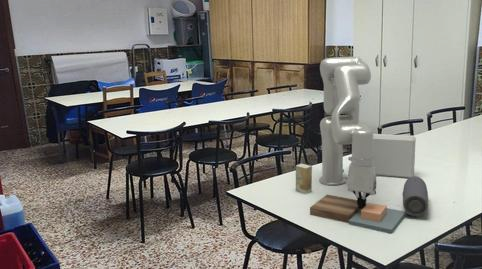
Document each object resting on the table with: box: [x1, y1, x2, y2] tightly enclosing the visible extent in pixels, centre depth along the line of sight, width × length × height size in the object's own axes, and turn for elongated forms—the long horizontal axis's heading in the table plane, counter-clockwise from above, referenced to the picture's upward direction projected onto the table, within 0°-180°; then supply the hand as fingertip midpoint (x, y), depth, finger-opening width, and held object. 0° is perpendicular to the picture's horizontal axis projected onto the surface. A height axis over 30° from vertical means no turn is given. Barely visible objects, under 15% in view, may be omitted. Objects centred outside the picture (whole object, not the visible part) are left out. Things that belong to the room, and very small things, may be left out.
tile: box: [361, 202, 388, 222], centre depth 161 cm, size 9×7×3 cm
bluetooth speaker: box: [402, 175, 429, 217], centre depth 169 cm, size 23×9×10 cm, turn 159°
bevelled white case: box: [373, 133, 417, 179], centre depth 208 cm, size 21×8×20 cm, turn 65°
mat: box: [348, 203, 407, 234], centre depth 161 cm, size 18×16×2 cm
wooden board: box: [309, 194, 361, 224], centre depth 170 cm, size 16×16×3 cm
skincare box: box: [295, 163, 313, 195], centre depth 193 cm, size 6×4×12 cm
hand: (361, 207), depth 164 cm, fingers closed
